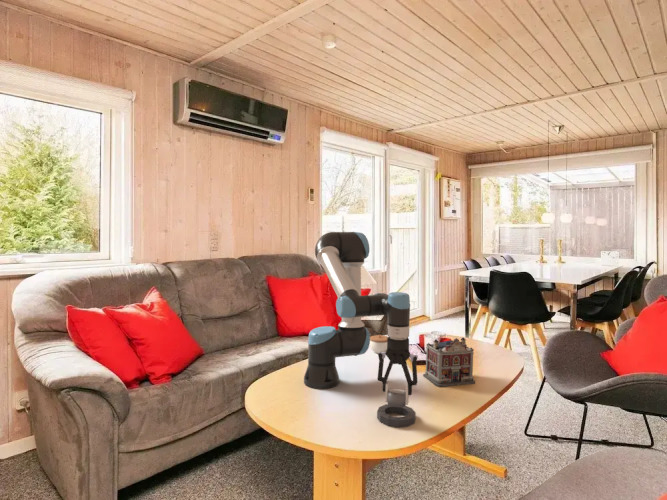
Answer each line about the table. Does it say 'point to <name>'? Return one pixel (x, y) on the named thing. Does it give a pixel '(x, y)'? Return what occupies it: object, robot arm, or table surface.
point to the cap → (396, 398)
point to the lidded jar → (378, 343)
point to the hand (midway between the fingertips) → (396, 402)
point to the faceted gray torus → (396, 421)
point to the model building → (449, 363)
